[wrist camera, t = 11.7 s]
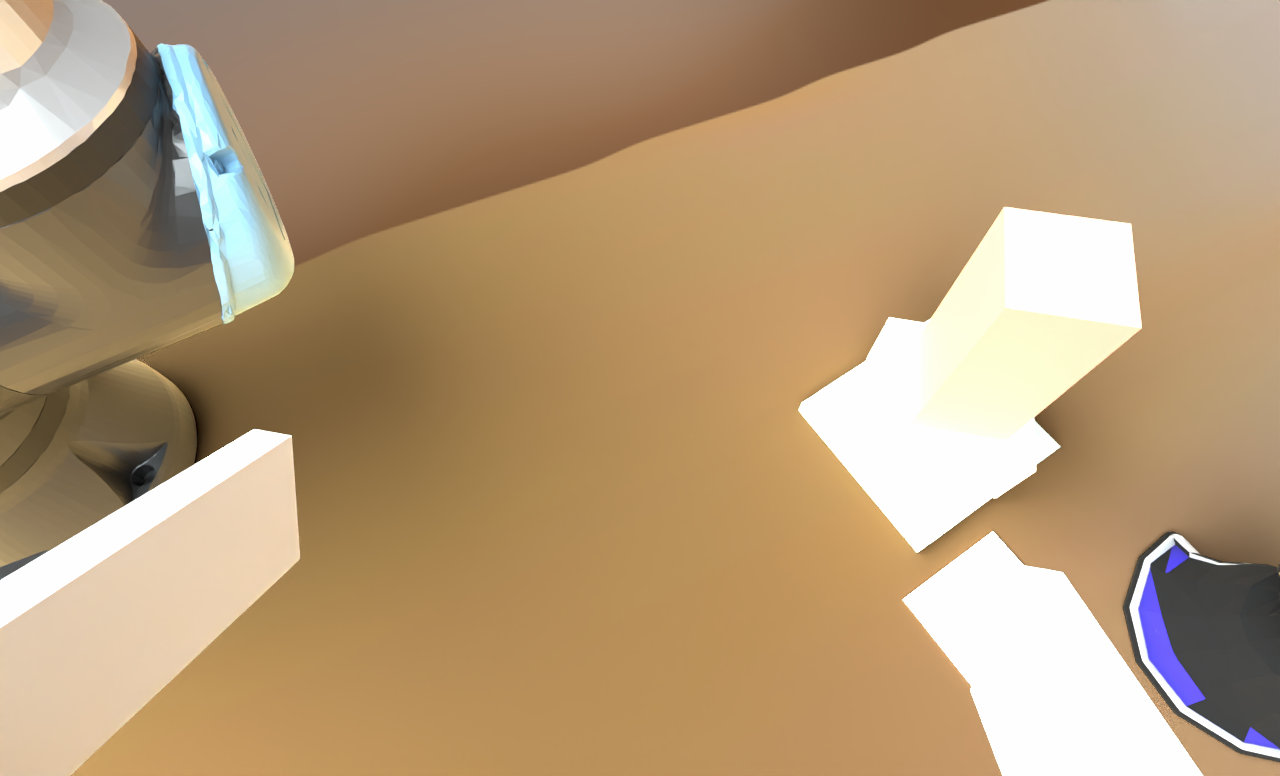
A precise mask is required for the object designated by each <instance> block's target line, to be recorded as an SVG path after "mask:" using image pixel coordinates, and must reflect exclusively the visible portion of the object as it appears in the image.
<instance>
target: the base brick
mask: <svg viewBox="0 0 1280 776" xmlns="http://www.w3.org/2000/svg"><path fill="white" fill-rule="evenodd" d="M927 324H928V323H923V322H916V321H910V320H903V319H897V318H890V317H889V318H888V320H887V322H886V324H885V325H884V327H883V329H882V331H881V333H880V334H879V336H878V338H877V340H876V342H875V344H874V345H873V347H872V349H871V351H870V353H869V354H868V356H867V364H866V376H865V388H864V401H863V413H862V425H861V438H860V450H859V462H858V474H862V475H868V476H874V477H879V478H885V479H890V480H896V481H901V482H907V483H913V484H918V485H924V486H929V487H935V488H940V489H946V490H952V491H957V492H963V493H968V494H974V495H979V496H985V497H991V498H998V497H999V496H1000V495H1002V494H1003V493H1005V492H1006V491H1008V490H1009V489H1011V488H1012V487H1014V486H1015V485H1017V484H1018V483H1020V482H1021V481H1023V480H1024V479H1026V478H1027V477H1029V476H1030V475H1032V474H1033V473H1034V472H1036V448H1035V417H1034V418H1033V419H1031V420H1030V421H1029V422H1028V423H1027V424H1025V425H1024V426H1023V427H1022V428H1021V429H1019V430H1018V431H1017V432H1016V433H1015V434H1013V435H1012V436H1011V437H1010V438H1009V439H1007V440H1006V441H1004V440H998V439H992V438H986V437H981V436H975V435H969V434H963V433H957V432H951V431H945V430H939V429H934V428H928V427H922V426H916V425H910V411H911V391H912V371H913V351H914V344H915V342H916V341H917V339H918V337H919V336H920V334H921V333H922V331H923V330H924V328H925V327H926V325H927Z"/></svg>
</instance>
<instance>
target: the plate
mask: <svg viewBox="0 0 1280 776" xmlns="http://www.w3.org/2000/svg"><path fill="white" fill-rule="evenodd" d="M930 319H931V318H930ZM930 319H929V320H927V321H926V322H924V323H928V322H929V321H930ZM866 364H867V360H866V361H865V362H863V363H862V364H860V365H859V366H857V367H855V368H854V369H852V370H851V371H849V372H848V373H846V374H845V375H843V376H842V377H840V378H839V379H837V380H836V381H834V382H833V383H831V384H829V385H828V386H826V387H825V388H823V389H822V390H820V391H819V392H817V393H816V394H814V395H813V396H811V397H810V398H808V399H807V400H805V401H803V402H802V403H801V405H800V407H799V410H798V411H799V412H800V413H801V414H802V416H803V417H804V418H805V419H806V420H807V422H808V423H809V424H810V425H811V426H812V428H813V429H814V430H815V431H816V432H817V434H818V435H819V436H820V437H821V438H822V440H823V441H824V442H825V443H826V444H827V446H828V447H829V448H830V449H831V450H832V452H833V453H834V454H835V455H836V456H837V458H838V459H839V460H840V461H841V462H842V464H843V465H844V466H845V467H846V468H847V470H848V471H849V472H850V473H851V474H852V476H853V477H854V478H855V479H856V480H857V482H858V483H859V484H860V485H861V486H862V488H863V489H864V490H865V491H866V492H867V494H868V495H869V496H870V497H871V498H872V500H873V501H874V502H875V503H876V504H877V506H878V507H879V508H880V509H881V510H882V512H883V513H884V514H885V515H886V516H887V518H888V519H889V520H890V521H891V522H892V524H893V525H894V526H895V527H896V528H897V530H898V531H899V532H900V533H901V535H902V536H903V537H904V538H905V539H906V541H907V542H908V543H909V544H910V545H911V547H912V548H913V549H914V550H915V551H916V553H918V552H919V551H921V550H922V549H924V548H925V547H926V546H928V545H929V544H930V543H932V542H933V541H935V540H936V539H937V538H939V537H940V536H941V535H943V534H944V533H945V532H947V531H948V530H949V529H951V528H952V527H953V526H955V525H956V524H957V523H959V522H960V521H961V520H963V519H964V518H966V517H967V516H968V515H970V514H971V513H972V512H974V511H975V510H976V509H978V508H979V507H980V506H982V505H983V504H984V503H986V502H987V501H988V500H990V499H991V497H985V496H979V495H974V494H968V493H963V492H957V491H952V490H946V489H940V488H935V487H929V486H924V485H918V484H913V483H907V482H901V481H896V480H890V479H885V478H879V477H874V476H868V475H862V474H858V462H859V450H860V438H861V425H862V413H863V401H864V388H865V376H866ZM1035 448H1036V465H1037V464H1038V463H1040V462H1041V461H1042V460H1044V459H1045V458H1046V457H1048V456H1049V455H1051V454H1052V453H1053V452H1055V451H1056V450H1057V449H1059V448H1060V446H1059V445H1058V444H1057V443H1056V442H1055V440H1054V439H1053V438H1052V437H1051V436H1050V435H1049V434H1048V433H1047V432H1046V431H1045V430H1044V429H1043V428H1042V427H1041V426H1040V425H1039V424H1038V423H1037V422H1036V421H1035Z"/></svg>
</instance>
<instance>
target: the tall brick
mask: <svg viewBox="0 0 1280 776" xmlns="http://www.w3.org/2000/svg"><path fill="white" fill-rule="evenodd" d="M1141 328H1142V326H1141V316H1140V307H1139V297H1138V287H1137V277H1136V268H1135V258H1134V248H1133V238H1132V228H1131V224H1129V223H1122V222H1114V221H1107V220H1099V219H1092V218H1084V217H1077V216H1069V215H1062V214H1054V213H1047V212H1039V211H1032V210H1024V209H1017V208H1009V207H1004V208H1003V209H1002V211H1001V212H1000V214H999V216H998V217H997V219H996V220H995V222H994V223H993V225H992V226H991V228H990V229H989V231H988V232H987V234H986V235H985V237H984V238H983V240H982V241H981V243H980V244H979V246H978V248H977V249H976V251H975V252H974V254H973V255H972V257H971V258H970V260H969V261H968V263H967V264H966V266H965V267H964V269H963V270H962V272H961V273H960V275H959V276H958V278H957V280H956V281H955V283H954V284H953V286H952V287H951V289H950V290H949V292H948V293H947V295H946V296H945V298H944V299H943V301H942V302H941V304H940V305H939V307H938V309H937V310H936V312H935V313H934V315H933V316H932V318H931V319H930V321H929V322H928V324H927V325H926V327H925V328H924V330H923V331H922V333H921V334H920V336H919V337H918V339H917V341H916V342H915V344H914V351H913V371H912V391H911V411H910V425H916V426H922V427H928V428H934V429H939V430H945V431H951V432H957V433H963V434H969V435H975V436H981V437H986V438H992V439H998V440H1004V441H1006V440H1007V439H1009V438H1010V437H1011V436H1012V435H1013V434H1015V433H1016V432H1017V431H1018V430H1019V429H1021V428H1022V427H1023V426H1024V425H1025V424H1027V423H1028V422H1029V421H1030V420H1031V419H1033V418H1034V417H1035V416H1036V415H1038V414H1039V413H1040V412H1041V411H1042V410H1044V409H1045V408H1046V407H1047V406H1048V405H1050V404H1051V403H1052V402H1053V401H1054V400H1056V399H1057V398H1058V397H1059V396H1060V395H1062V394H1063V393H1064V392H1065V391H1067V390H1068V389H1069V388H1070V387H1071V386H1073V385H1074V384H1075V383H1076V382H1077V381H1079V380H1080V379H1081V378H1082V377H1083V376H1085V375H1086V374H1087V373H1088V372H1089V371H1091V370H1092V369H1093V368H1094V367H1096V366H1097V365H1098V364H1099V363H1100V362H1102V361H1103V360H1104V359H1105V358H1106V357H1108V356H1109V355H1110V354H1111V353H1112V352H1114V351H1115V350H1116V349H1117V348H1118V347H1120V346H1121V345H1122V344H1123V343H1125V342H1126V341H1127V340H1128V339H1129V338H1131V337H1132V336H1133V335H1134V334H1135V333H1137V332H1138V331H1139V330H1140V329H1141Z"/></svg>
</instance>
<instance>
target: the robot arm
mask: <svg viewBox="0 0 1280 776" xmlns="http://www.w3.org/2000/svg"><path fill="white" fill-rule="evenodd" d="M293 274H294V257H293V252H292V249H291V245H290V242H289V239H288V236H287V233H286V231H285V228H284V225H283V223H282V221H281V218H280V215H279V213H278V210H277V208H276V205H275V203H274V200H273V198H272V196H271V193H270V191H269V189H268V186H267V184H266V182H265V180H264V177H263V175H262V173H261V171H260V168H259V166H258V164H257V161H256V159H255V157H254V155H253V153H252V150H251V148H250V146H249V145H248V142H247V140H246V138H245V135H244V133H243V131H242V129H241V127H240V125H239V123H238V121H237V119H236V117H235V115H234V113H233V111H232V109H231V107H230V105H229V103H228V101H227V99H226V97H225V95H224V93H223V91H222V89H221V87H220V85H219V84H218V82H217V80H216V78H215V76H214V74H213V73H212V71H211V69H210V68H209V66H208V65H207V63H206V62H205V61H204V60H203V59H202V58H201V55H200V54H199V53H198V51H197V50H196V49H194V48H193V47H191V46H189V45H182V44H180V45H172V46H171V45H163V44H160V45H158V46H157V48H156V49H155V50H154V51H152V52H151V53H149V52H148V50H147V49H146V48H145V47H144V45H143V44H142V43H141V41H140V40H139V39H138V37H137V36H136V35H135V34H134V32H133V31H132V30H131V28H130V27H129V26H128V25H127V23H126V22H125V21H124V20H123V18H122V17H121V16H120V15H119V14H118V13H117V12H116V11H115V10H114V9H113V8H112V7H111V6H109V5H108V4H106V3H105V2H103V1H101V0H0V776H70V775H72V774H73V773H74V772H75V771H76V770H77V769H78V768H79V767H80V766H81V765H82V764H83V763H84V762H85V761H86V760H87V759H89V758H90V757H91V756H92V755H93V754H94V753H95V752H96V751H97V750H98V749H99V748H100V747H101V746H102V745H103V744H104V743H106V742H107V741H108V740H109V739H110V738H111V737H112V736H113V735H114V734H115V733H116V732H117V731H118V730H119V729H120V728H121V727H122V726H124V725H125V724H126V723H127V722H128V721H129V720H130V719H131V718H132V717H133V716H134V715H135V714H136V713H137V712H138V711H139V710H141V709H142V708H143V707H144V706H145V705H146V704H147V703H148V702H149V701H150V700H151V699H152V698H153V697H154V696H155V695H156V694H158V693H159V692H160V691H161V690H162V689H163V688H164V687H165V686H166V685H167V684H168V683H169V682H170V681H171V680H172V679H173V678H175V677H176V676H177V675H178V674H179V673H180V672H181V671H182V670H183V669H184V668H185V667H186V666H187V665H188V664H189V663H190V662H192V661H193V660H194V659H195V658H196V657H197V656H198V655H199V654H200V653H201V652H202V651H203V650H204V649H205V648H206V647H207V646H209V645H210V644H211V643H212V642H213V641H214V640H215V639H216V638H217V637H218V636H219V635H220V634H221V633H222V632H223V631H224V630H225V629H227V628H228V627H229V626H230V625H231V624H232V623H233V622H234V621H235V620H236V619H237V618H238V617H239V616H240V615H241V614H242V613H244V612H245V611H246V610H247V609H248V608H249V607H250V606H251V605H252V604H253V603H254V602H255V601H256V600H257V599H258V598H259V597H261V596H262V595H263V594H264V593H265V592H266V591H267V590H268V589H269V588H270V587H271V586H272V585H273V584H274V583H275V582H276V581H278V580H279V579H280V578H281V577H282V576H283V575H284V574H285V573H286V572H287V571H288V570H289V569H290V568H291V567H292V566H293V565H295V564H296V563H297V562H298V561H299V560H300V547H299V532H298V518H297V503H296V489H295V475H294V460H293V446H292V436H291V435H286V434H280V433H275V432H269V431H263V430H258V429H253V430H251V431H250V432H248V433H246V434H245V435H243V436H241V437H240V438H238V439H236V440H235V441H233V442H231V443H230V444H228V445H226V446H225V447H223V448H221V449H220V450H218V451H216V452H214V453H213V454H211V455H209V456H208V457H206V458H204V459H203V460H201V461H199V462H198V463H196V464H194V462H195V456H196V449H197V429H196V423H195V418H194V415H193V412H192V409H191V407H190V405H189V403H188V401H187V399H186V397H185V396H184V395H183V393H182V392H181V391H180V390H179V388H178V387H177V386H176V385H175V384H173V383H172V382H171V381H170V380H168V379H167V378H166V377H164V376H163V375H161V374H160V373H158V372H157V371H155V370H154V369H153V368H151V367H150V366H148V365H146V364H145V363H143V362H141V361H139V360H137V358H140V357H142V356H145V355H147V354H150V353H152V352H154V351H157V350H159V349H162V348H164V347H167V346H169V345H172V344H174V343H177V342H179V341H181V340H184V339H186V338H189V337H191V336H194V335H196V334H199V333H201V332H204V331H206V330H208V329H211V328H213V327H216V326H218V325H221V324H227V323H230V322H232V321H233V320H234V319H235V316H236V315H238V314H240V313H242V312H244V311H246V310H248V309H250V308H252V307H255V306H257V305H259V304H261V303H263V302H265V301H267V300H269V299H271V298H273V297H275V296H277V295H278V294H280V293H281V291H282V290H284V289H285V288H286V286H287V285H288V284H289V282H290V280H291V278H292V276H293ZM970 691H971V694H972V697H973V699H974V702H975V704H976V707H977V710H978V712H979V715H980V718H981V720H982V723H983V726H984V728H985V731H986V733H987V736H988V739H989V741H990V744H991V747H992V749H993V752H994V755H995V757H996V760H997V763H998V765H999V768H1000V770H1001V773H1002V776H1203V775H1202V774H1201V772H1200V771H1199V769H1198V768H1197V766H1196V765H1195V764H1194V762H1193V761H1192V759H1191V758H1190V756H1189V755H1188V753H1187V752H1186V750H1185V749H1184V748H1183V746H1182V745H1181V743H1180V742H1179V740H1178V739H1177V737H1176V736H1175V734H1174V733H1173V732H1172V730H1171V729H1170V727H1169V726H1168V724H1167V723H1166V721H1165V720H1164V718H1163V717H1162V716H1161V714H1160V713H1159V711H1158V710H1157V708H1156V707H1155V705H1154V704H1153V703H1152V701H1151V700H1150V698H1149V697H1148V695H1147V694H1146V692H1145V691H1144V689H1143V688H1142V687H1141V685H1140V684H1139V682H1138V681H1137V679H1136V678H1135V676H1134V675H1133V673H1132V672H1131V671H1130V669H1129V668H1128V666H1127V665H1126V663H1125V662H1124V660H1123V659H1122V657H1121V656H1120V655H1119V653H1118V652H1117V650H1116V649H1115V647H1114V646H1113V644H1112V643H1111V642H1110V640H1109V639H1108V637H1107V636H1106V634H1105V633H1104V631H1103V630H1102V628H1101V627H1100V626H1099V624H1098V623H1097V621H1096V620H1095V618H1094V617H1093V615H1092V614H1091V612H1090V611H1089V610H1088V608H1087V607H1086V605H1085V604H1084V602H1083V601H1082V599H1081V598H1080V596H1079V595H1078V594H1077V592H1076V591H1075V589H1074V588H1073V586H1072V585H1071V583H1070V582H1069V581H1068V579H1067V578H1066V576H1065V575H1064V573H1063V572H1059V571H1053V570H1047V569H1042V568H1036V567H1031V566H1025V565H1019V564H1015V566H1014V569H1013V572H1012V575H1011V578H1010V580H1009V583H1008V586H1007V589H1006V592H1005V595H1004V597H1003V600H1002V603H1001V606H1000V609H999V611H998V614H997V617H996V620H995V623H994V625H993V628H992V631H991V634H990V637H989V639H988V642H987V645H986V648H985V651H984V653H983V656H982V659H981V662H980V665H979V667H978V670H977V673H976V676H975V679H974V681H973V684H972V687H971V690H970Z"/></svg>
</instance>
